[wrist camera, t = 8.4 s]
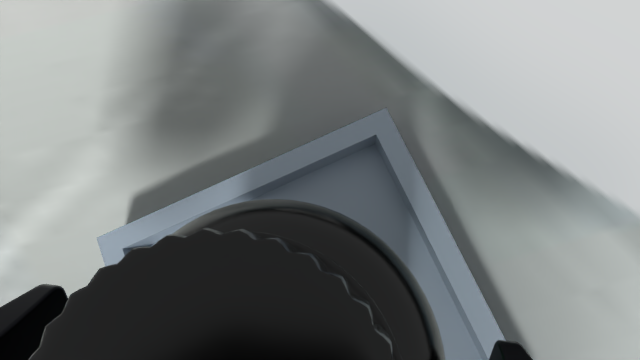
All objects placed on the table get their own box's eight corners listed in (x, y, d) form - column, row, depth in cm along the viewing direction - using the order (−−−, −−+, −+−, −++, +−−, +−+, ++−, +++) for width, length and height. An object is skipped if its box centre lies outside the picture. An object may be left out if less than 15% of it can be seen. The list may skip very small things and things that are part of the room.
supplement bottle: (405, 237, 17) (502, 150, 5) (405, 434, 16) (538, 892, 4) (229, 232, 18) (-21, 143, 6) (214, 420, 16) (-153, 780, 5)
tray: (530, 411, 16) (550, 428, 14) (222, 552, 16) (205, 586, 14) (383, 123, 19) (386, 107, 17) (121, 241, 19) (96, 237, 17)
